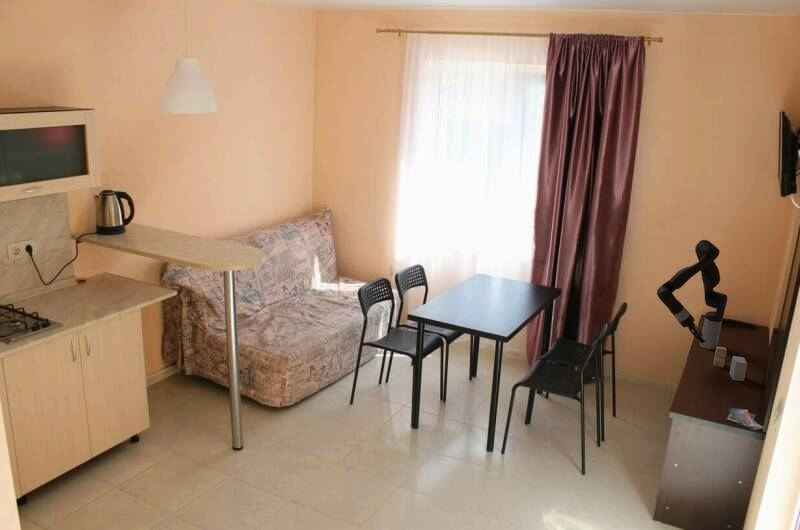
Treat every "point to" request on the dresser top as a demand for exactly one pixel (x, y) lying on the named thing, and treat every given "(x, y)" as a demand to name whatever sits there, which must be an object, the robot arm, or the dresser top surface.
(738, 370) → the small box
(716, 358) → the maple block
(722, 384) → the dresser top surface
